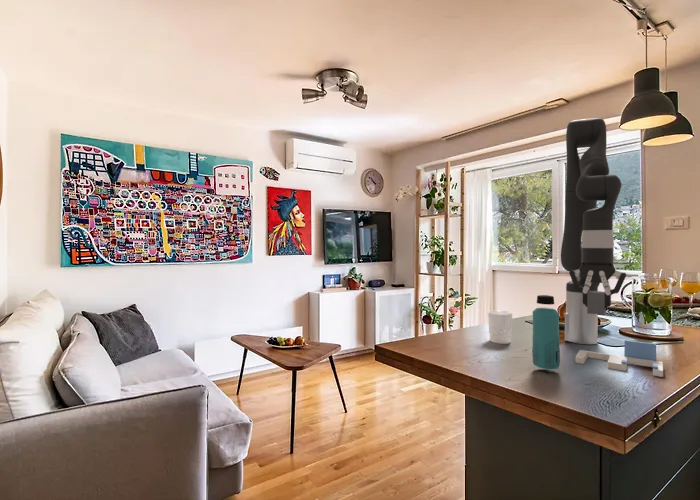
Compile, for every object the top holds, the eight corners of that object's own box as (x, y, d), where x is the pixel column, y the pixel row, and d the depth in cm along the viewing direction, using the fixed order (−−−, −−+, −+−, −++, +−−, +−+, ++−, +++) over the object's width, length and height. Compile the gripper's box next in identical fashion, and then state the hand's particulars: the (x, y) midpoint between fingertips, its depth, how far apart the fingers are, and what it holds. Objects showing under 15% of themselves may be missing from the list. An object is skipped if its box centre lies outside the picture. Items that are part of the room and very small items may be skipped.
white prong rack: (575, 362, 105) (575, 341, 105) (580, 354, 114) (580, 334, 113) (663, 377, 94) (663, 353, 93) (662, 366, 102) (662, 344, 102)
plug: (587, 313, 105) (587, 292, 105) (589, 311, 108) (589, 290, 108) (604, 315, 103) (604, 293, 103) (605, 312, 106) (605, 291, 106)
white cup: (514, 340, 130) (514, 311, 130) (510, 345, 124) (510, 315, 124) (490, 337, 135) (490, 309, 134) (485, 342, 128) (485, 313, 128)
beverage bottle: (559, 377, 94) (559, 297, 94) (530, 372, 97) (530, 295, 97) (560, 369, 100) (560, 294, 99) (533, 365, 103) (533, 293, 103)
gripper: (566, 246, 107) (565, 306, 107) (627, 246, 98) (627, 312, 98) (570, 246, 113) (570, 303, 113) (629, 246, 104) (628, 308, 104)
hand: (596, 307), depth 106 cm, fingers closed on plug, 4 cm apart
